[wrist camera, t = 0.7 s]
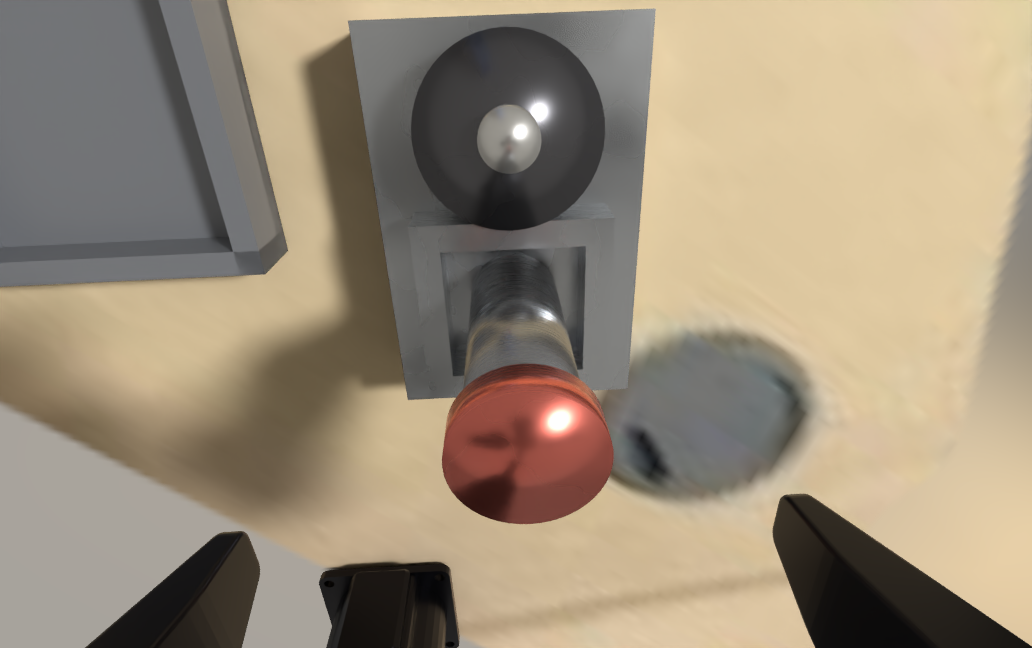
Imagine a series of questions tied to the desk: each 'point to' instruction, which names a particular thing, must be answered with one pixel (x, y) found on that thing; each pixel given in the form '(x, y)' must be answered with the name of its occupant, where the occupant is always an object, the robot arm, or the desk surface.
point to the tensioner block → (507, 172)
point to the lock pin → (523, 404)
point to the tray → (129, 145)
